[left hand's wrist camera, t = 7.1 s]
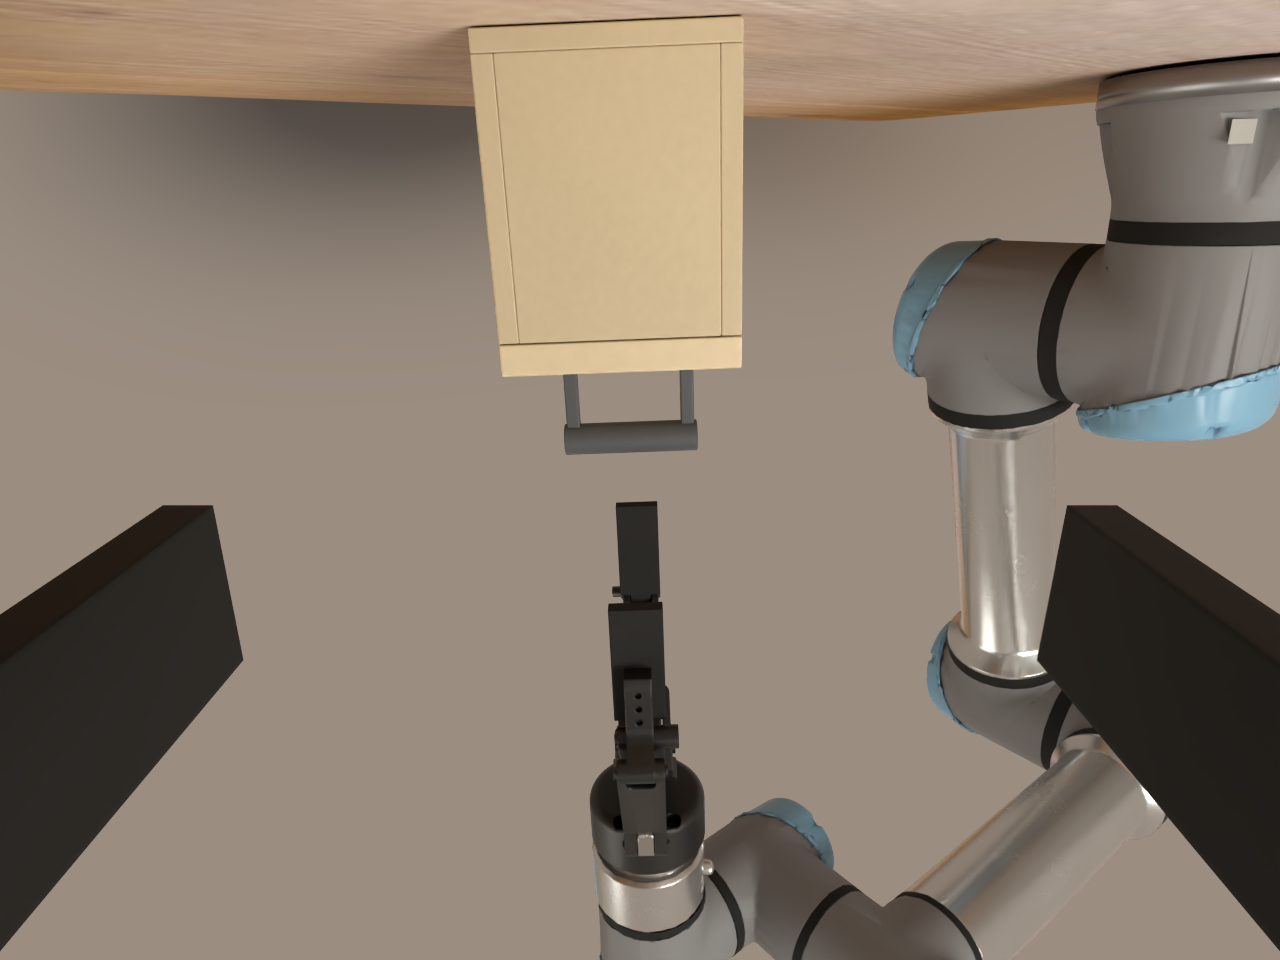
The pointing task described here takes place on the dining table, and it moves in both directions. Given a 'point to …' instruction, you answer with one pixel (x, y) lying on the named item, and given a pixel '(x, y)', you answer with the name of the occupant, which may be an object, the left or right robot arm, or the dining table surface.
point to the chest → (612, 177)
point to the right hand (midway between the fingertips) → (635, 547)
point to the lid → (625, 358)
